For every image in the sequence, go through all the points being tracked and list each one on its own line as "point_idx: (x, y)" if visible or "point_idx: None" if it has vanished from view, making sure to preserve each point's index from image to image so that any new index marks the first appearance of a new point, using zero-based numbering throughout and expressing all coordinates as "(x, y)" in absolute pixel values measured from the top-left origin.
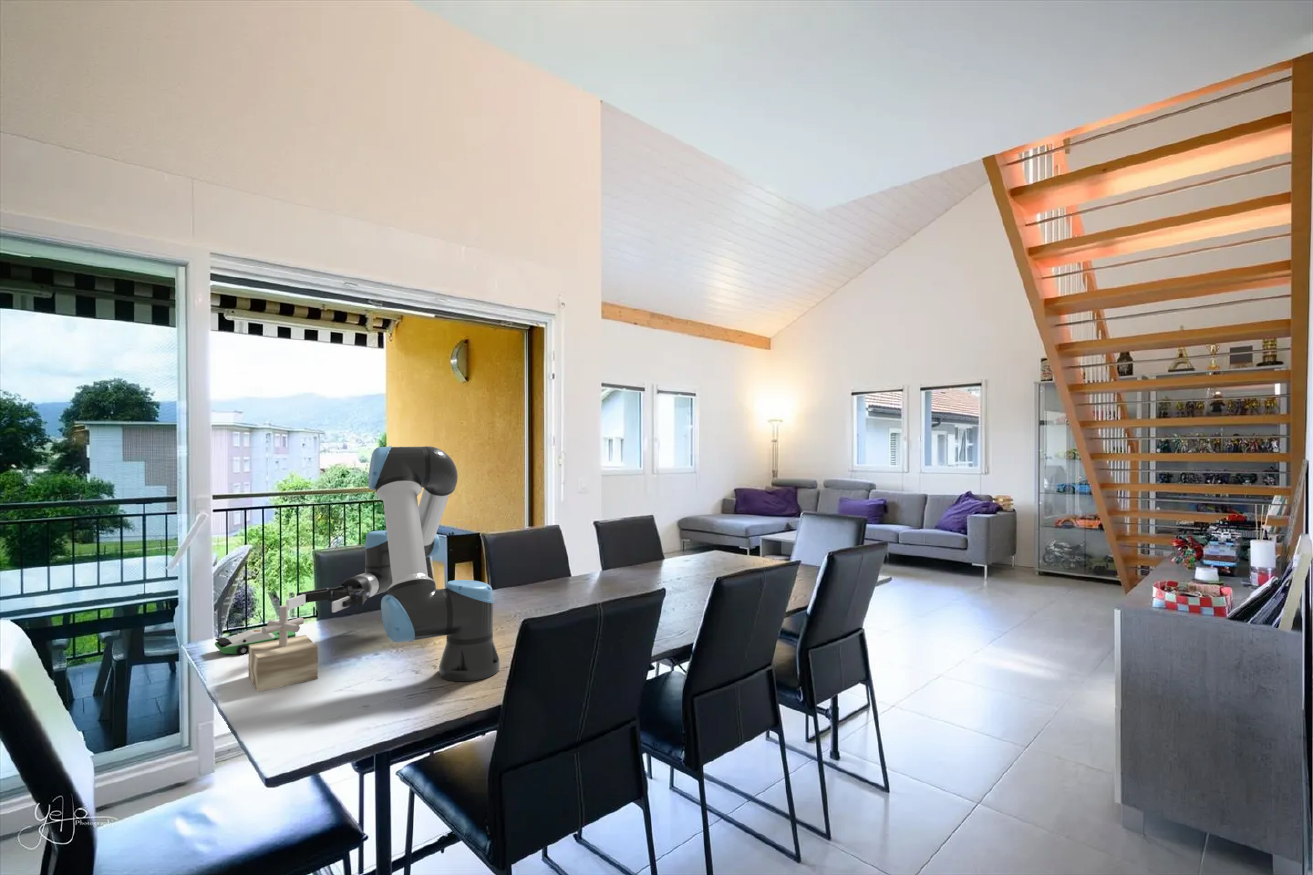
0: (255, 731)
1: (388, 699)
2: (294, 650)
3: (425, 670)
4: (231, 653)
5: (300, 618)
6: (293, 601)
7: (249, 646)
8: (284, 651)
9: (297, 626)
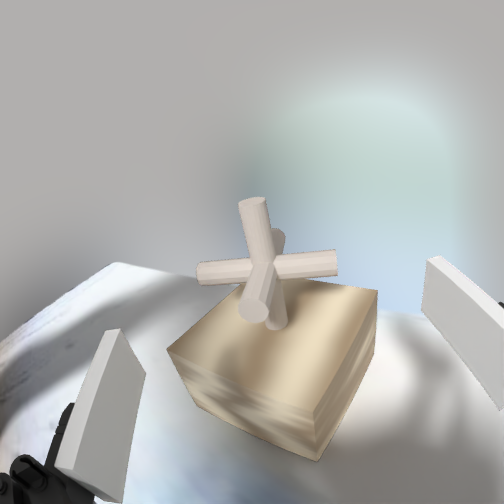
0: (167, 279)
1: (47, 365)
2: (212, 316)
3: (7, 467)
4: None
5: (244, 294)
6: (448, 298)
7: (365, 289)
8: (232, 305)
9: (198, 270)
